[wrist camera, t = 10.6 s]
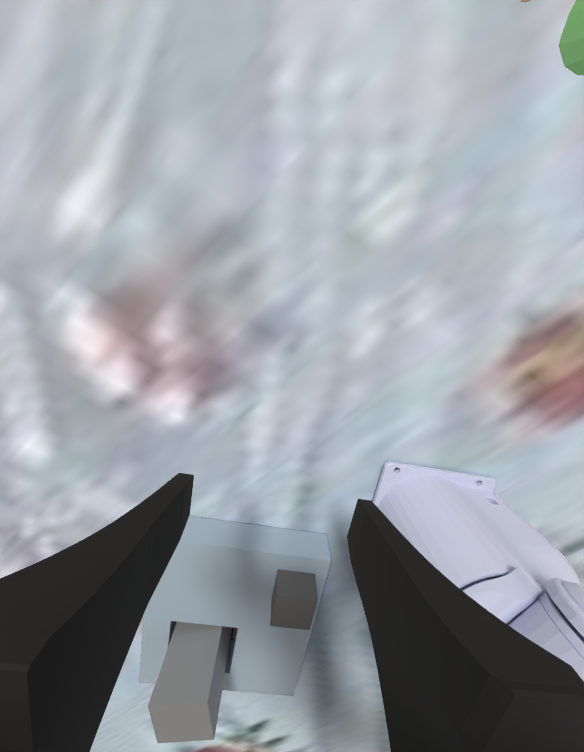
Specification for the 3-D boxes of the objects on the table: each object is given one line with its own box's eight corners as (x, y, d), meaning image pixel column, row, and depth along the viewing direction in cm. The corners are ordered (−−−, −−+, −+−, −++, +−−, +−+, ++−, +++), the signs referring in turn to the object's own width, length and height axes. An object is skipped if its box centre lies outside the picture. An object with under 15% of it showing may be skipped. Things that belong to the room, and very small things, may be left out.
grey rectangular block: (228, 595, 25) (207, 702, 18) (232, 627, 26) (213, 739, 19) (185, 597, 25) (147, 706, 18) (190, 629, 26) (157, 743, 19)
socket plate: (326, 534, 24) (336, 586, 19) (292, 661, 27) (294, 728, 23) (163, 512, 23) (134, 561, 18) (152, 647, 26) (126, 715, 22)
